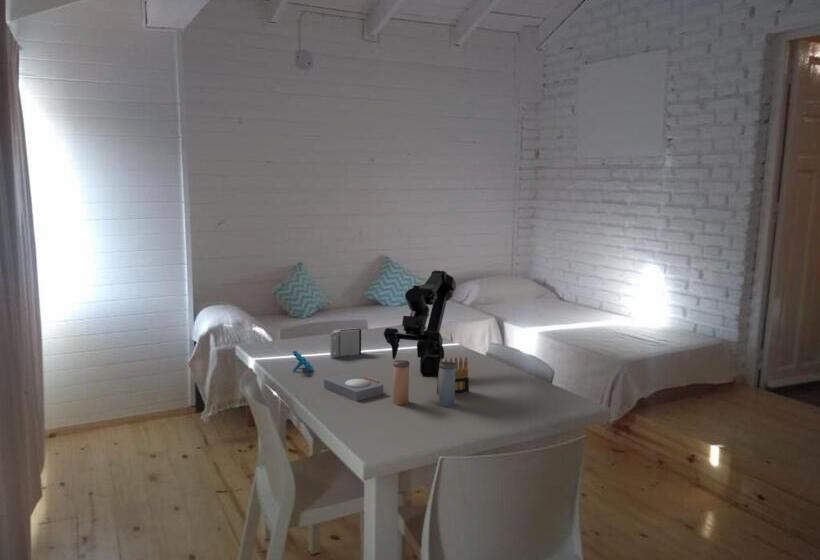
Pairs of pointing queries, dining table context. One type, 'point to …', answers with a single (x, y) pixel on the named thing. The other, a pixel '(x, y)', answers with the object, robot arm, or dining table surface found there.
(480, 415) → the dining table surface
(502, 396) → the dining table surface
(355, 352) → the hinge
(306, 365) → the gear
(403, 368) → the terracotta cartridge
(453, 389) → the cylinder
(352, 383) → the dock unit
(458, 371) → the ammunition clip
